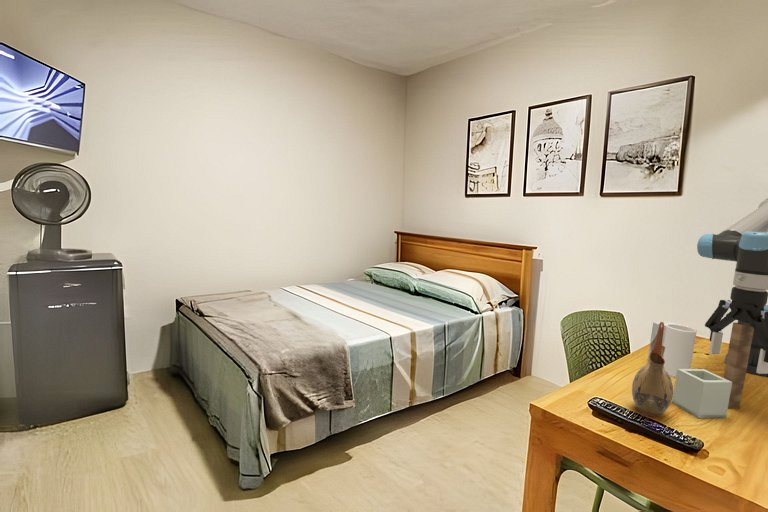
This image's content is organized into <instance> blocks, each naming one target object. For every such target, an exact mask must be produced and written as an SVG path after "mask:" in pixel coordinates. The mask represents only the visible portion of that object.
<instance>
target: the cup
mask: <svg viewBox="0 0 768 512" xmlns="http://www.w3.org/2000/svg"><path fill="white" fill-rule="evenodd" d="M696 336H697V328H694V327H692V326H687V325H684V324H680V325H679V323H677V324H667V325H666V331H665V338H664V344H663V346H664V347H665V350H664V355H663V358H664V360H665V364H664V369H665V371H666V372H667V373H668V374H669V376H670V377H673V378H676V374H677V369H692V363H693V362H692V361H693V355H694V349H695V345H696V344H695V343H696V338H697V337H696Z"/></svg>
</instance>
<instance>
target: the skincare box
mask: <svg viewBox="0 0 768 512" xmlns="http://www.w3.org/2000/svg"><path fill="white" fill-rule="evenodd" d="M660 322H661V321H656V322H654V321H653V322H652V328H651V333H650V341H649V348H648V354H647V361H648V362H649V355H650V353H651V343H652V341H653V340H654V338H655V337H656V335H657V332H658V328H659V323H660ZM662 322H663V323H664V332H663V339H662V346H663V344H664V338H665V331H666V325H667V324H679V323H676V322H674V321H670V320H669V321H662ZM679 325H681V324H679Z"/></svg>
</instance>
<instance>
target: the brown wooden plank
mask: <svg viewBox="0 0 768 512" xmlns="http://www.w3.org/2000/svg"><path fill="white" fill-rule="evenodd" d="M730 332H731V333H730V338H729V343H728V349H727V353H728V354H727V353H726V354H727V360H726V363H725V366H724V372H723V377H722V378H724V379H727V380H729V381H731V382H732V387H731V393H730V398H729V404H728V409H740V408H741V401H742V397H743V390H744V385H745V379H746V374H747V372H746V370H747V364H748V359H749V354H750V348H751V343H752V337H753V332H754V329H753V327H752V326H750V324H748V323H738V322H732V327H731V331H730Z"/></svg>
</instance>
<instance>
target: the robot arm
mask: <svg viewBox="0 0 768 512" xmlns="http://www.w3.org/2000/svg"><path fill="white" fill-rule="evenodd" d="M696 250H697V253H698V255H699V256H700V257H703V258H707V259H712V260H721V261H729V262H735V263H736V265H735V268H734V269H735V270H734V276H733V282H732V285H733V287H731V290H730V291H731V293H730V300H729V299H720V300H719V302H718V305H717V308H716V309H715V310H714V311H713V313H712V314H711V315H710V316H709V318H708V319H707V320H706V322H705V323H704V327H706V328H707V329H709V330H710V335H709V341H710V347H709V354H710V355H720V353H721V347H722V341H723V336H724V332H723V330H724V329H725V328H727V327H728V326H729V325H730V324H733V323H734V322H735V321H737V323H748V324H750V326H752V327H753V329H754V332H753V337H752V343H751V348H750V354H749V359H748V364H747V370H746V373H747V374H752V375H757V376H764V377H768V304H767V303H768V198H765V199H764V200H763V201H762V202H760V204H759V205H758V207H757V209H755V210H753V211H752V212H750V213H749V214H747V215H746V216H744V217H743V218H741V219H739V220H738V221H737V222H735V223H734V224H732V225H730V226H729V227H728V228H726V229H725V230H724V229H723V231H721V232H720V233H717V234H715V233H704V234H702V235H701V236H700V238H698V241H697V244H696ZM729 310H730V311H729ZM728 311H729V312H728ZM727 354H728V352H727V353H726V355H725V358H724V361H723V362H724V363H725V364H726V360H727Z"/></svg>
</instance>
